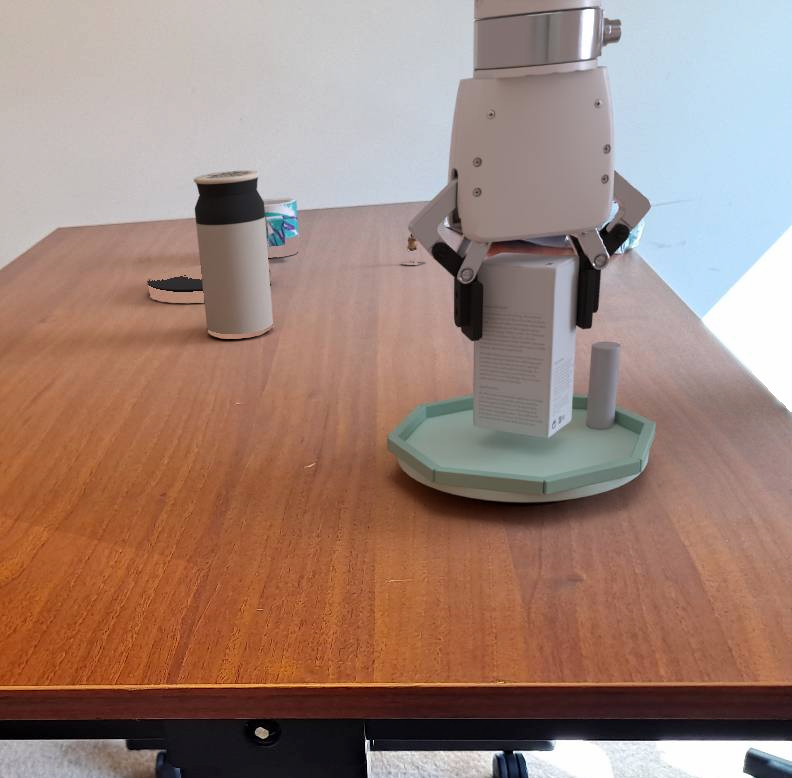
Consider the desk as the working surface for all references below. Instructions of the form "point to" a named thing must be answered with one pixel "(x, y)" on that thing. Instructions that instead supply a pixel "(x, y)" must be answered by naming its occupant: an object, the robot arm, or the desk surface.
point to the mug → (280, 220)
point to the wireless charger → (178, 284)
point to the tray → (528, 446)
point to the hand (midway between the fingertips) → (524, 328)
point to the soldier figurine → (412, 243)
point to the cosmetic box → (526, 343)
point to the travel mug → (233, 252)
